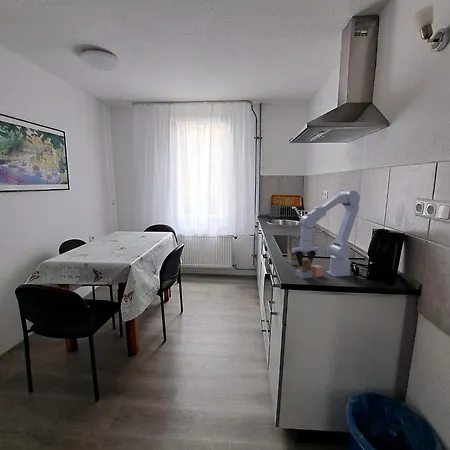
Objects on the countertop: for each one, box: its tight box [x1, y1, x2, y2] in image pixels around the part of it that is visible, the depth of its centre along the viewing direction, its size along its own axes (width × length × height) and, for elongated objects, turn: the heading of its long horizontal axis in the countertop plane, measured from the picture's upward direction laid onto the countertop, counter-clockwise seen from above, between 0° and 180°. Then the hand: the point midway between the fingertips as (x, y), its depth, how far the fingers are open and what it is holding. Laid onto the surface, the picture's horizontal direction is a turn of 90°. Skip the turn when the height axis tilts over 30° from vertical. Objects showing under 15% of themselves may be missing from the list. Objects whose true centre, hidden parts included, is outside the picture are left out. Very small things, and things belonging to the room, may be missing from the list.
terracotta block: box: [309, 264, 324, 278], centre depth 139 cm, size 4×4×5 cm
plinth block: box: [295, 269, 314, 279], centre depth 137 cm, size 6×6×3 cm
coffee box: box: [286, 235, 303, 266], centre depth 160 cm, size 9×6×16 cm
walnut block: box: [297, 257, 312, 271], centre depth 137 cm, size 4×4×5 cm
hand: (304, 265), depth 136 cm, fingers closed on walnut block, 4 cm apart
